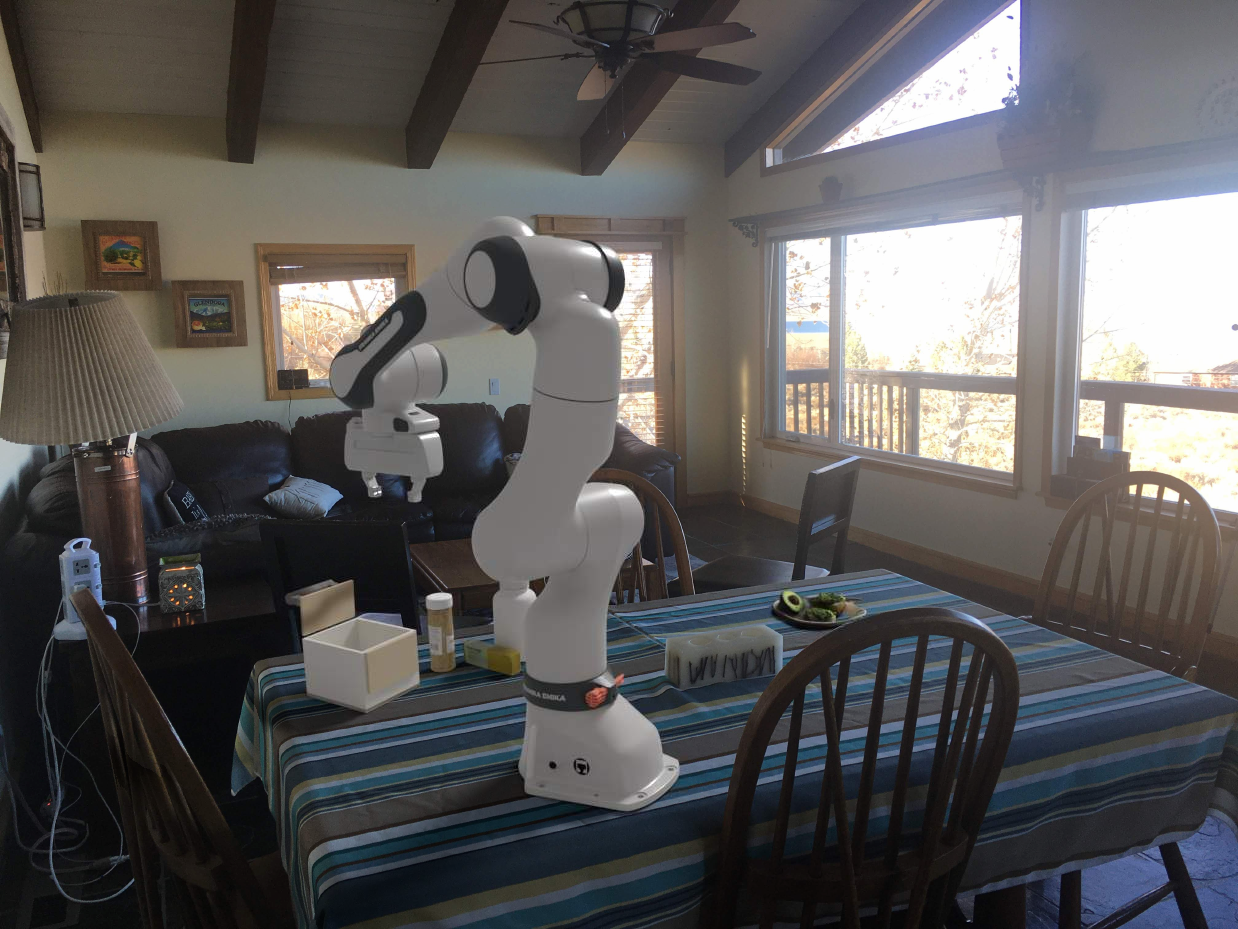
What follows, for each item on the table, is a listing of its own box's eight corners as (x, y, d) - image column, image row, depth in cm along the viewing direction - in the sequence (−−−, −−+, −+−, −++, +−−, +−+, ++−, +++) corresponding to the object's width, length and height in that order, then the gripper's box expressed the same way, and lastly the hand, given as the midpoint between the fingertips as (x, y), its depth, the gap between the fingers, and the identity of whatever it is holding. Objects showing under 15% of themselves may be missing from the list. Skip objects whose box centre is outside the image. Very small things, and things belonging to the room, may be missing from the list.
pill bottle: (546, 657, 169) (543, 577, 166) (507, 667, 164) (503, 586, 162) (525, 644, 175) (522, 568, 173) (487, 654, 171) (483, 576, 168)
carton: (422, 687, 157) (418, 630, 155) (368, 714, 147) (364, 654, 145) (361, 671, 164) (357, 617, 163) (307, 696, 154) (302, 638, 153)
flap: (353, 580, 161) (331, 575, 164) (301, 597, 152) (279, 592, 155) (355, 616, 162) (333, 610, 165) (304, 636, 153) (282, 629, 156)
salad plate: (839, 596, 201) (840, 575, 200) (889, 621, 184) (890, 598, 183) (760, 607, 194) (760, 586, 193) (804, 634, 178) (804, 611, 177)
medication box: (462, 663, 168) (461, 642, 167) (473, 658, 170) (472, 637, 169) (512, 677, 161) (510, 655, 160) (522, 672, 163) (521, 650, 162)
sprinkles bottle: (460, 669, 164) (456, 596, 162) (436, 675, 162) (431, 601, 159) (450, 661, 168) (445, 590, 166) (426, 667, 165) (421, 595, 163)
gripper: (332, 418, 159) (338, 497, 162) (419, 423, 149) (425, 508, 151) (360, 414, 165) (365, 490, 167) (446, 419, 154) (451, 500, 156)
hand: (394, 499), depth 159 cm, fingers open, 8 cm apart
